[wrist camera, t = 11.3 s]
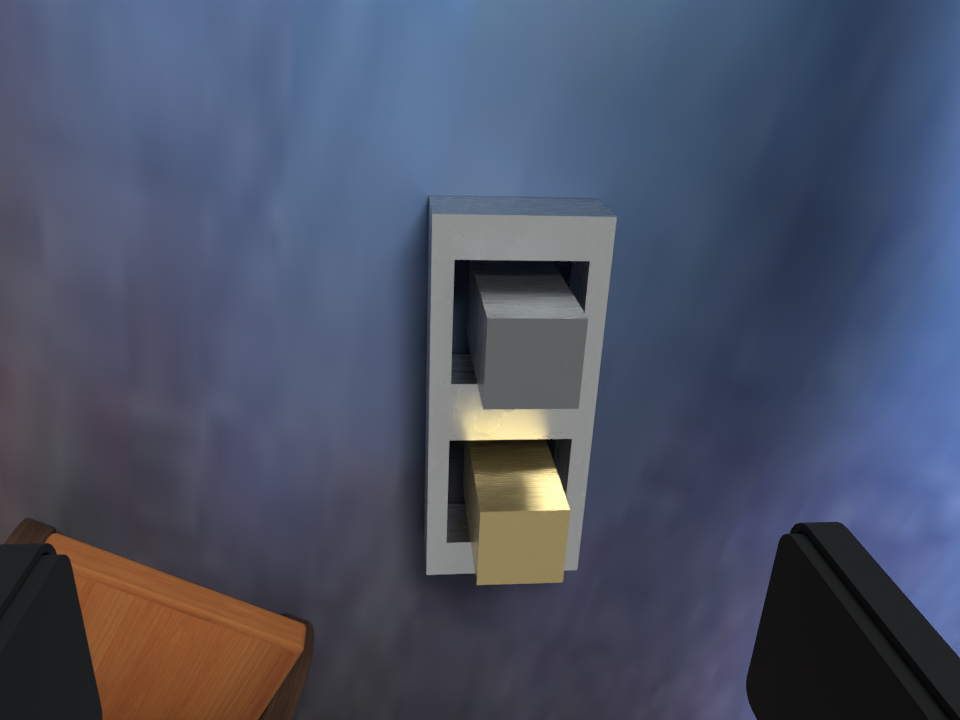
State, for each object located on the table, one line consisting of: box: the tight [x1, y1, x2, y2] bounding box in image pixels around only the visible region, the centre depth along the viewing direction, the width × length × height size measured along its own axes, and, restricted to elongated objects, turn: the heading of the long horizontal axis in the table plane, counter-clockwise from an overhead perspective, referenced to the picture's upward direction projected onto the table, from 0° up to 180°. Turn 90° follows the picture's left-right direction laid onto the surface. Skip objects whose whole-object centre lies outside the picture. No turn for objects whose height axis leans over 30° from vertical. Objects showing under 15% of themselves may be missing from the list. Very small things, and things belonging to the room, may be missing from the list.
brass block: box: [463, 439, 570, 585], centre depth 39 cm, size 4×4×8 cm
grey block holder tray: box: [424, 196, 617, 575], centre depth 39 cm, size 8×19×4 cm, turn 178°
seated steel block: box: [467, 260, 588, 409], centre depth 35 cm, size 4×4×8 cm
